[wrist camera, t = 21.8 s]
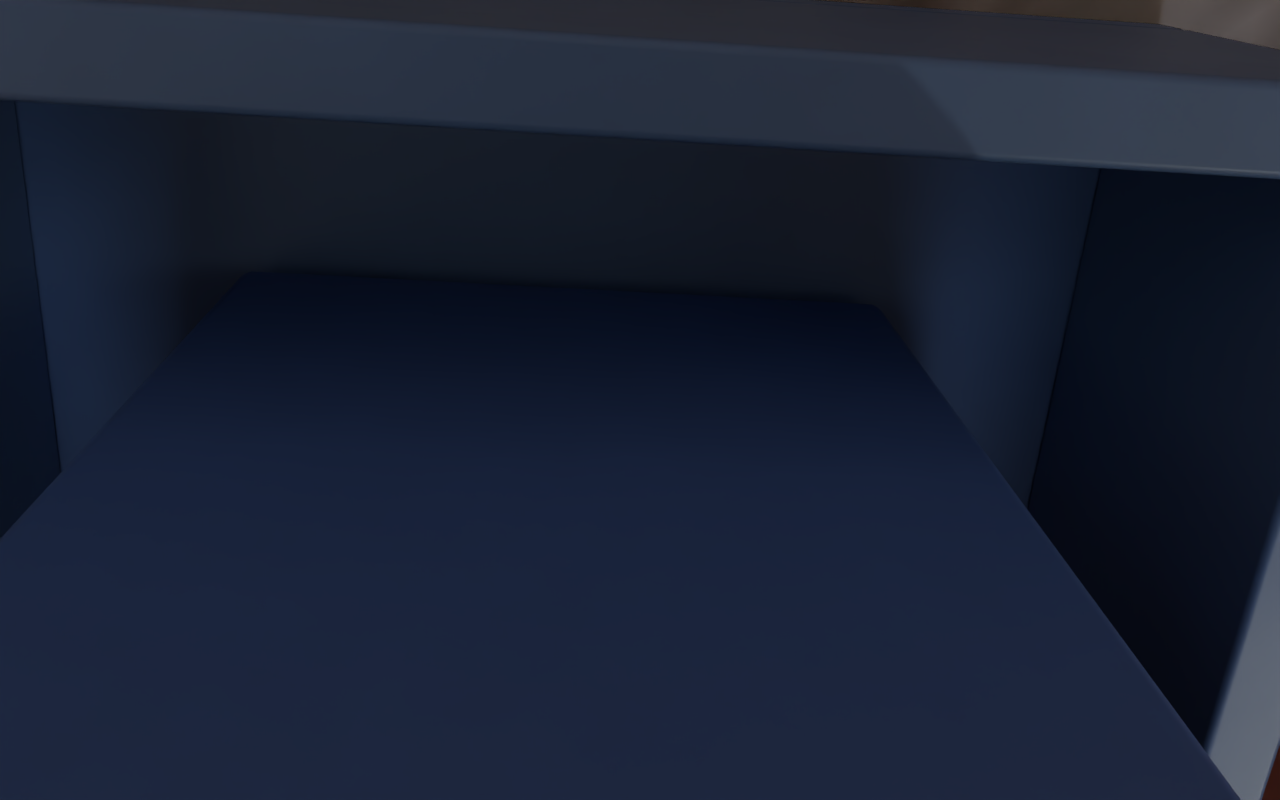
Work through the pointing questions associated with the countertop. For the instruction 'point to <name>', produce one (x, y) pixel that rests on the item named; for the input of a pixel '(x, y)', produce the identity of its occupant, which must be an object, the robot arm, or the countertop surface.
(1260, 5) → the countertop surface
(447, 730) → the blue block
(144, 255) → the blue bin
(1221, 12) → the countertop surface
